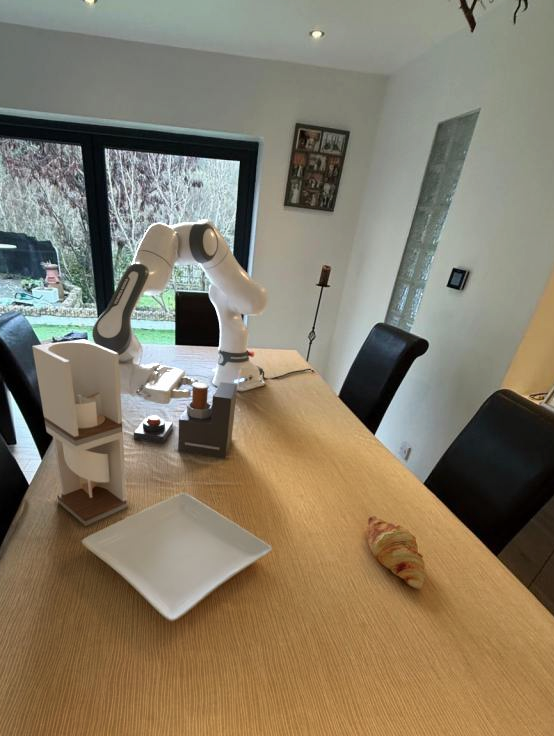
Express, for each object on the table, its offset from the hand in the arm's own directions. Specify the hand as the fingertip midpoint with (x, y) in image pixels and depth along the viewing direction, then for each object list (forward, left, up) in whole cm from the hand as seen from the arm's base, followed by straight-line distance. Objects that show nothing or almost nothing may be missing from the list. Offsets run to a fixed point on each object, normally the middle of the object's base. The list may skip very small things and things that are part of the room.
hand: (193, 388), depth 116 cm
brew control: (+7, -11, -17) cm, 21 cm away
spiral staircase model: (+37, +16, -17) cm, 44 cm away
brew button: (+7, -11, -14) cm, 19 cm away
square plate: (+29, +41, -17) cm, 53 cm away
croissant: (-10, +64, -17) cm, 67 cm away
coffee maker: (-3, +3, -17) cm, 18 cm away
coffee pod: (-1, +1, -7) cm, 7 cm away
